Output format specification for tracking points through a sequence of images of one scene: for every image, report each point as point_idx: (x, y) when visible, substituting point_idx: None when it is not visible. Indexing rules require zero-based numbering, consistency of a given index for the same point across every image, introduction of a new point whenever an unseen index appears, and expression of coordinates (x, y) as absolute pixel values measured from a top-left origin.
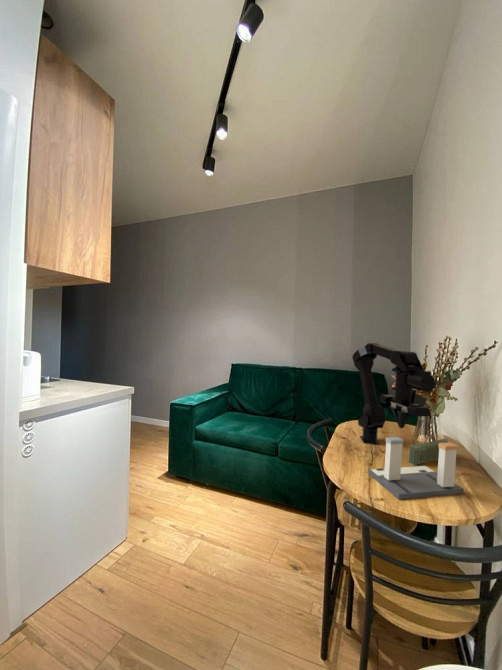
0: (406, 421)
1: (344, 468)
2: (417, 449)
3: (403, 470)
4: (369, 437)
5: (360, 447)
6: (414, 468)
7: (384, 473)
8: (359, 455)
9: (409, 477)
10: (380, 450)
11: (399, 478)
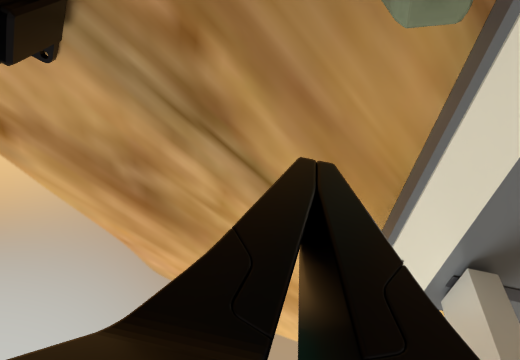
0: (389, 250)
1: (295, 307)
2: None
3: (459, 192)
4: (37, 51)
5: (123, 129)
6: (492, 114)
7: (445, 315)
8: (214, 200)
9: (514, 217)
10: (167, 36)
11: (497, 281)
